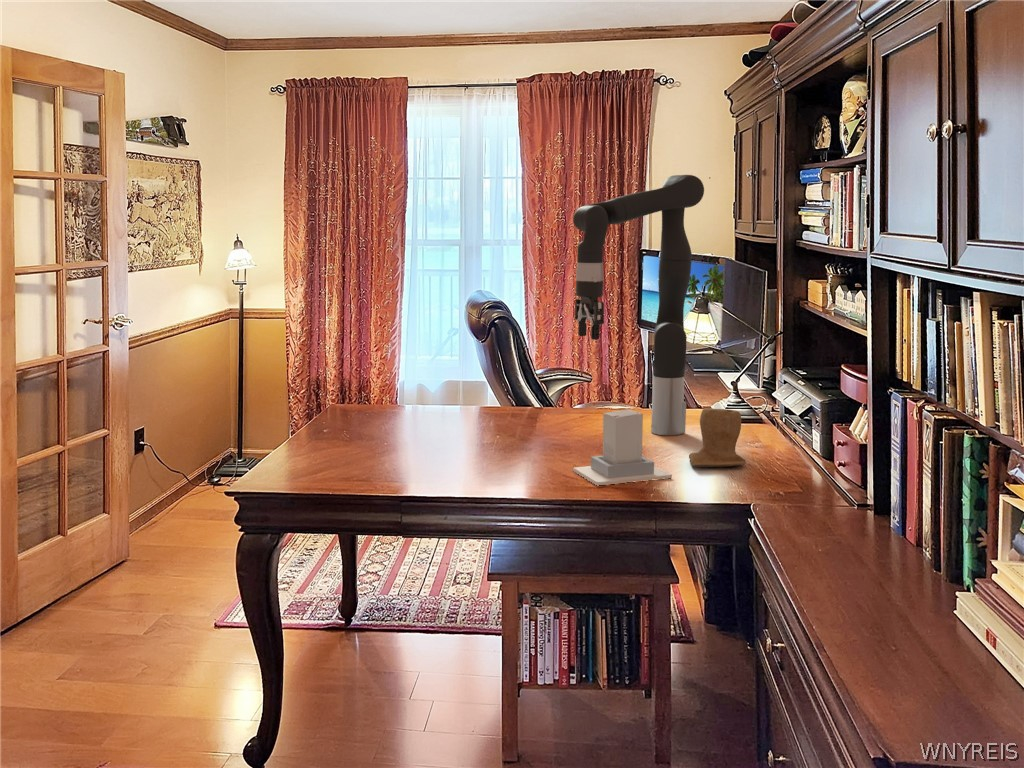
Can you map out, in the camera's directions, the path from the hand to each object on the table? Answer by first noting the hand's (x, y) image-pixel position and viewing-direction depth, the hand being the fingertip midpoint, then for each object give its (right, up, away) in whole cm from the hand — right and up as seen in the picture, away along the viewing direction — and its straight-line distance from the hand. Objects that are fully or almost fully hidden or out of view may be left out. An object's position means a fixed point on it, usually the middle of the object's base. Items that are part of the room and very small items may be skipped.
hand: (588, 337), depth 249 cm
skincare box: (+6, -35, -29) cm, 45 cm away
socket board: (+6, -35, -28) cm, 46 cm away
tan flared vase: (+31, -34, -19) cm, 50 cm away
